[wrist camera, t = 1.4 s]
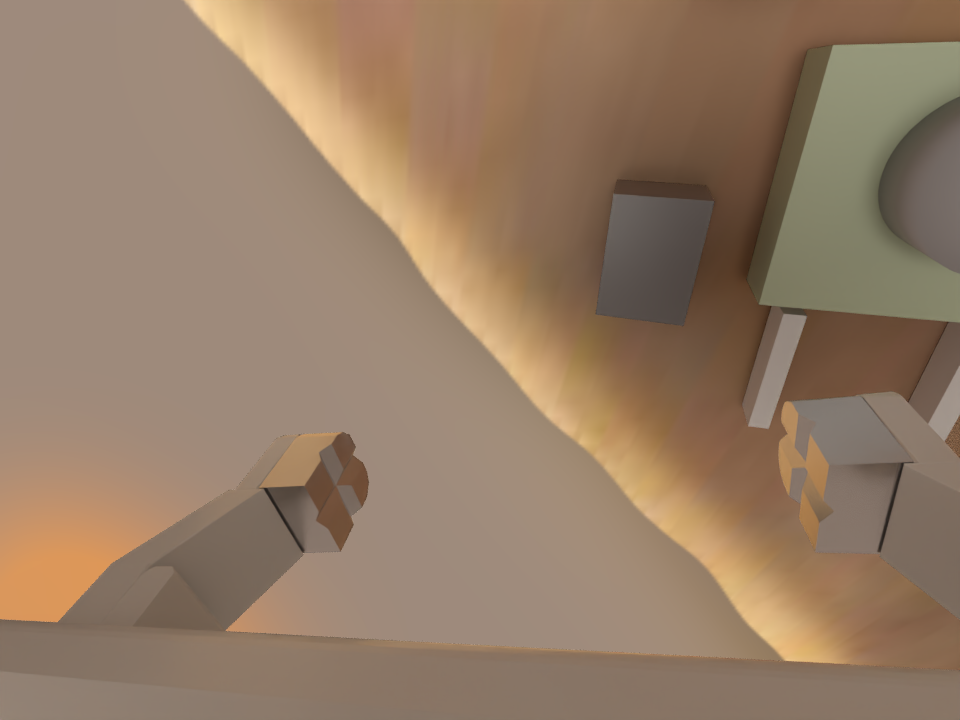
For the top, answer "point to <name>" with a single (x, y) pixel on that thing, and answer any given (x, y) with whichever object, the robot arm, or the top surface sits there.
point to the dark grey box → (653, 250)
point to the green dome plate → (865, 211)
